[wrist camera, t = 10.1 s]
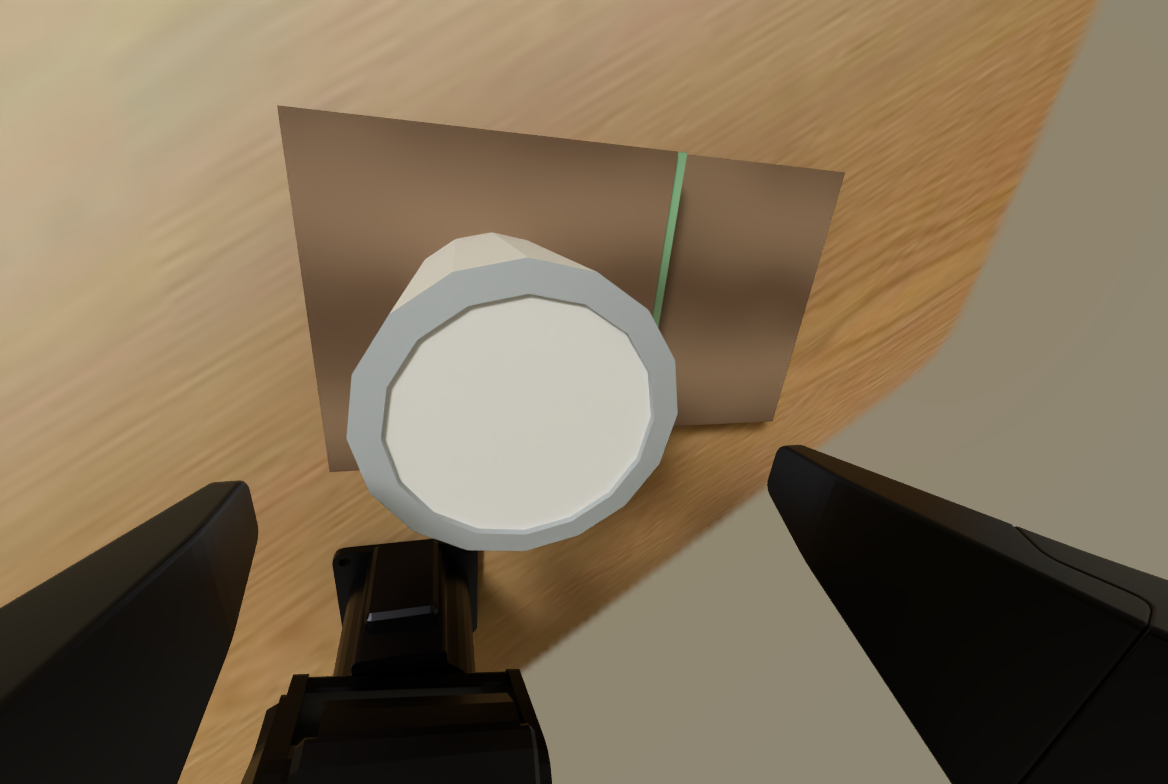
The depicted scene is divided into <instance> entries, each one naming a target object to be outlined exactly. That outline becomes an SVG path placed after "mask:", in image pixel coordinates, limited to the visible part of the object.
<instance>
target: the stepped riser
mask: <svg viewBox="0 0 1168 784" xmlns="http://www.w3.org/2000/svg"><path fill="white" fill-rule="evenodd" d="M277 107H278V114H279V121H280V128H281V135H282V142H283V149H284V156H285V163H286V170H287V177H288V184H289V191H290V198H291V205H292V212H293V219H294V226H295V233H296V240H297V247H298V254H299V261H300V268H301V275H302V281H303V288H304V295H305V302H306V309H307V316H308V323H309V330H310V337H311V344H312V351H313V358H314V365H315V372H316V379H317V386H318V393H319V400H320V407H321V414H322V421H323V428H324V435H325V442H326V449H327V456H328V463H329V470H330V472H340V471H356V470H360V469H359V467H358V464H357V462H356V460H355V457H354V455H353V453H352V450H351V448H350V446H349V443H348V441H347V439H346V438H347V426H348V413H349V401H350V389H351V377H352V373H353V372H354V370H355V369H356V367H357V365H358V364H359V362H360V360H361V359H362V357H363V356H364V354H365V352H366V351H367V349H368V348H369V346H370V344H371V343H372V341H373V339H374V338H375V336H376V335H377V333H378V331H379V330H380V328H381V326H382V325H383V323H384V322H385V320H386V318H387V317H388V315H389V314H390V312H391V311H392V309H393V307H394V306H395V304H396V303H397V301H398V300H399V298H400V297H401V295H402V294H403V292H404V291H405V289H406V288H407V286H408V285H409V283H410V282H411V280H412V279H413V277H414V275H415V274H416V272H417V271H418V269H419V268H420V266H421V265H422V263H423V262H424V260H425V259H426V258H428V257H429V256H431V255H432V254H434V253H435V252H437V251H438V250H440V249H441V248H443V247H444V246H446V245H447V244H449V243H450V242H452V241H453V240H455V239H458V238H463V237H469V236H474V235H480V234H485V233H491V232H493V233H497V234H502V235H506V236H510V237H515V238H519V239H524V240H528V241H530V242H532V243H534V244H536V245H539V246H541V247H543V248H545V249H548V250H550V251H552V252H554V253H556V254H559V255H561V256H563V257H565V258H567V259H570V260H572V261H574V262H576V263H578V264H581V265H583V266H585V267H587V268H589V269H592V270H594V271H596V272H598V273H599V274H601V275H602V276H603V277H605V278H606V279H607V280H609V281H610V282H612V283H613V284H614V285H616V286H617V287H618V288H620V289H621V290H622V291H624V292H625V293H626V294H628V295H629V296H630V297H632V298H633V299H634V300H636V301H637V302H638V303H640V304H641V305H643V306H644V307H645V308H647V309H648V310H649V312H650V314H651V315H652V317H653V319H654V321H655V323H656V325H657V327H658V329H659V331H660V333H661V334H662V336H663V338H664V340H665V342H666V344H667V346H668V348H669V350H670V352H671V353H672V355H673V357H674V359H675V368H676V390H677V411H678V414H677V417H676V420H675V422H674V425H673V426H684V425H705V424H726V423H747V422H768V421H773V417H774V414H775V411H776V407H777V404H778V400H779V397H780V393H781V390H782V387H783V383H784V380H785V376H786V373H787V370H788V366H789V363H790V359H791V356H792V352H793V349H794V346H795V342H796V339H797V335H798V332H799V328H800V325H801V322H802V318H803V315H804V311H805V308H806V304H807V301H808V298H809V294H810V291H811V287H812V284H813V281H814V277H815V274H816V270H817V267H818V263H819V260H820V257H821V253H822V250H823V246H824V243H825V239H826V236H827V233H828V229H829V226H830V222H831V219H832V215H833V212H834V209H835V205H836V202H837V198H838V195H839V192H840V188H841V185H842V181H843V178H844V174H845V173H844V172H835V171H826V170H818V169H809V168H800V167H792V166H783V165H774V164H765V163H757V162H748V161H739V160H730V159H722V158H713V157H704V156H696V155H687V153H682V152H675V151H667V150H658V149H649V148H641V147H632V146H623V145H615V144H606V143H597V142H589V141H580V140H571V139H563V138H554V137H545V136H537V135H528V134H519V133H511V132H502V131H493V130H485V129H476V128H467V127H459V126H450V125H442V124H433V123H424V122H416V121H407V120H398V119H390V118H381V117H372V116H364V115H355V114H346V113H338V112H329V111H320V110H312V109H303V108H294V107H286V106H277Z"/></svg>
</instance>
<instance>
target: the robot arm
mask: <svg viewBox="0 0 1168 784" xmlns="http://www.w3.org/2000/svg"><path fill="white" fill-rule="evenodd" d="M767 486H768V491H769V494H770V496H771V498H772V500H773V502H774V503H775V506H776V508H777V509H778V511H779V513H780V515H781V517H782V519H783V521H784V522H785V525H786V526H787V528H788V530H789V532H790V534H791V536H792V537H793V540H794V541H795V543H796V545H797V547H798V549H799V551H800V552H801V554H802V556H803V558H804V559H805V561H806V563H807V564H808V566H809V567H810V569H811V571H812V572H813V574H814V575H815V577H816V578H817V580H818V582H819V583H820V585H821V586H822V588H823V589H824V591H825V592H826V594H827V595H828V597H829V598H830V599H831V601H832V603H833V604H834V606H835V607H836V609H837V610H838V612H839V613H840V615H841V616H842V618H843V619H844V621H845V623H846V624H847V625H848V627H849V629H850V630H851V632H852V633H853V635H854V636H855V638H856V639H857V641H858V642H859V644H860V645H861V647H862V648H863V650H864V651H865V653H866V654H867V656H868V657H869V659H870V661H871V662H872V664H873V665H874V666H875V668H876V670H877V671H878V673H879V674H880V676H881V677H882V679H883V680H884V682H885V683H886V685H887V686H888V688H889V689H890V691H891V692H892V694H893V696H894V697H895V699H896V700H897V701H898V703H899V704H900V706H901V708H902V709H903V711H904V712H905V714H906V715H907V717H908V718H909V720H910V721H911V723H912V724H913V726H914V727H915V729H916V730H917V732H918V733H919V735H920V736H921V738H922V740H923V741H924V743H925V744H926V746H927V747H928V748H929V750H930V752H931V753H932V755H933V756H934V758H935V759H936V761H937V762H938V764H939V765H940V767H941V768H942V770H943V771H944V773H945V774H946V776H947V777H948V779H949V781H950V782H951V784H1168V580H1166V579H1163V578H1159V577H1157V576H1154V575H1151V574H1148V573H1145V572H1142V571H1139V570H1136V569H1133V568H1131V567H1128V566H1125V565H1122V564H1119V563H1116V562H1113V561H1111V560H1108V559H1104V558H1102V557H1099V556H1096V555H1093V554H1091V553H1087V552H1085V551H1082V550H1079V549H1077V548H1074V547H1071V546H1069V545H1066V544H1063V543H1060V542H1058V541H1055V540H1052V539H1050V538H1047V537H1044V536H1041V535H1039V534H1036V533H1034V532H1031V531H1028V530H1026V529H1023V528H1020V527H1013V526H1012V525H1011V524H1009V523H1007V522H1004V521H1002V520H999V519H996V518H993V517H991V516H988V515H986V514H983V513H980V512H978V511H975V510H972V509H969V508H967V507H964V506H962V505H959V504H956V503H954V502H951V501H948V500H946V499H943V498H940V497H938V496H935V495H933V494H930V493H927V492H925V491H922V490H919V489H917V488H914V487H911V486H909V485H906V484H904V483H901V482H898V481H896V480H893V479H890V478H888V477H885V476H882V475H879V474H877V473H874V472H872V471H869V470H866V469H864V468H861V467H858V466H856V465H853V464H851V463H848V462H845V461H842V460H840V459H837V458H835V457H832V456H829V455H826V454H824V453H821V452H819V451H816V450H814V449H811V448H808V447H806V446H803V445H788V446H782V447H780V448H779V449H778V451H777V452H776V455H775V458H774V462H773V465H772V468H771V472H770V475H769V478H768V484H767ZM257 540H258V524H257V520H256V515H255V511H254V507H253V502H252V498H251V494H250V490H249V487H248V485H247V484H246V483H245V482H243V481H225V482H213V483H210V484H208V485H206V486H205V487H203V488H201V489H200V490H198V491H196V492H195V493H193V494H191V495H190V496H188V497H186V498H185V499H183V500H181V501H180V502H178V503H176V504H175V505H173V506H171V507H169V508H168V509H166V510H164V511H163V512H161V513H159V514H158V515H156V516H154V517H153V518H151V519H149V520H148V521H146V522H144V523H143V524H141V525H139V526H138V527H136V528H134V529H132V530H131V531H129V532H127V533H126V534H124V535H122V536H121V537H119V538H117V539H116V540H114V541H112V542H111V543H109V544H107V545H106V546H104V547H102V548H100V549H99V550H97V551H95V552H94V553H92V554H90V555H89V556H87V557H85V558H84V559H82V560H80V561H79V562H77V563H75V564H74V565H72V566H70V567H68V568H67V569H65V570H63V571H62V572H60V573H58V574H57V575H55V576H53V577H52V578H50V579H48V580H47V581H45V582H43V583H42V584H40V585H38V586H36V587H35V588H33V589H31V590H30V591H28V592H26V593H25V594H23V595H21V596H20V597H18V598H16V599H15V600H13V601H11V602H10V603H8V604H6V605H5V606H3V607H1V608H0V784H177V783H178V780H179V778H180V775H181V772H182V770H183V767H184V765H185V762H186V759H187V757H188V754H189V752H190V749H191V746H192V744H193V741H194V739H195V736H196V733H197V731H198V728H199V726H200V723H201V720H202V718H203V715H204V713H205V710H206V707H207V705H208V702H209V700H210V697H211V694H212V692H213V689H214V687H215V684H216V681H217V679H218V676H219V674H220V671H221V668H222V666H223V663H224V661H225V658H226V655H227V653H228V650H229V647H230V644H231V641H232V638H233V635H234V631H235V627H236V624H237V620H238V616H239V612H240V608H241V604H242V600H243V596H244V592H245V588H246V584H247V580H248V576H249V572H250V568H251V564H252V560H253V557H254V553H255V549H256V545H257ZM342 558H347V559H349V560H342ZM477 563H478V550H465V549H462V548H459V547H457V546H454V545H451V544H448V543H445V542H442V541H440V540H437V539H428V540H418V541H408V542H398V543H388V544H378V545H368V546H358V547H348V548H342V549H339V550H338V551H336V553H335V554H334V558H333V563H332V564H333V571H334V577H335V584H336V590H337V596H338V603H339V609H340V616H341V622H342V632H341V637H340V643H339V648H338V653H337V658H336V663H335V668H334V674H333V676H324V677H309V674H295V675H293V677H292V680H291V683H290V686H289V690H288V693H287V695H281V697H280V700H279V703H278V704H276V705H275V706H273V707H271V708H269V709H268V710H267V711H266V714H265V718H264V721H263V724H262V728H261V731H260V735H259V738H258V741H257V744H256V748H255V751H254V753H253V756H252V759H251V762H250V764H249V766H248V769H247V771H246V773H245V775H244V778H243V780H242V782H241V784H552V778H551V767H550V761H549V754H548V749H547V746H546V742H545V739H544V736H543V733H542V730H541V728H540V725H539V722H538V719H537V717H536V714H535V711H534V709H533V706H532V703H531V700H530V697H529V695H528V692H527V689H526V686H525V683H524V681H523V678H522V675H521V672H520V670H519V669H506V671H505V672H475V661H474V647H473V632H474V631H475V630H476V628H477Z"/></svg>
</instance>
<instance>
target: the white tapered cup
mask: <svg viewBox="0 0 1168 784" xmlns="http://www.w3.org/2000/svg"><path fill="white" fill-rule="evenodd" d="M677 414H678V411H677V390H676V368H675V359H674V357H673V355H672V353H671V352H670V350H669V348H668V346H667V344H666V342H665V340H664V338H663V336H662V334H661V333H660V331H659V329H658V327H657V325H656V323H655V321H654V319H653V317H652V315H651V314H650V312H649V310H648V309H647V308H645V307H644V306H643V305H641V304H640V303H638V302H637V301H636V300H634V299H633V298H632V297H630V296H629V295H628V294H626V293H625V292H624V291H622V290H621V289H620V288H618V287H617V286H616V285H614V284H613V283H612V282H610V281H609V280H607V279H606V278H605V277H603V276H602V275H601V274H599V273H598V272H596V271H594V270H592V269H589V268H587V267H585V266H583V265H581V264H578V263H576V262H574V261H572V260H570V259H567V258H565V257H563V256H561V255H559V254H556V253H554V252H552V251H550V250H548V249H545V248H543V247H541V246H539V245H536V244H534V243H532V242H530V241H528V240H524V239H519V238H515V237H510V236H506V235H502V234H497V233H493V232H491V233H485V234H480V235H474V236H469V237H463V238H458V239H455V240H453V241H452V242H450V243H449V244H447V245H446V246H444V247H443V248H441V249H440V250H438V251H437V252H435V253H434V254H432V255H431V256H429V257H428V258H426V259H425V260H424V262H423V263H422V265H421V266H420V268H419V269H418V271H417V272H416V274H415V275H414V277H413V279H412V280H411V282H410V283H409V285H408V286H407V288H406V289H405V291H404V292H403V294H402V295H401V297H400V298H399V300H398V301H397V303H396V304H395V306H394V307H393V309H392V311H391V312H390V314H389V315H388V317H387V318H386V320H385V322H384V323H383V325H382V326H381V328H380V330H379V331H378V333H377V335H376V336H375V338H374V339H373V341H372V343H371V344H370V346H369V348H368V349H367V351H366V352H365V354H364V356H363V357H362V359H361V360H360V362H359V364H358V365H357V367H356V369H355V370H354V372H353V373H352V377H351V389H350V401H349V413H348V426H347V438H346V439H347V441H348V443H349V446H350V448H351V450H352V453H353V455H354V457H355V460H356V462H357V464H358V467H359V469H360V471H361V474H362V476H363V478H364V481H365V483H366V485H367V488H368V490H369V492H370V494H371V495H372V496H374V497H375V498H376V499H377V500H378V501H379V502H380V503H382V504H383V505H384V506H385V507H386V508H387V509H388V510H390V511H391V512H392V513H393V514H394V515H395V516H396V517H398V518H399V519H400V520H401V521H402V522H403V523H404V524H406V525H407V526H408V527H409V528H410V529H411V530H412V531H414V532H417V533H420V534H423V535H425V536H428V537H431V538H434V539H437V540H440V541H442V542H445V543H448V544H451V545H454V546H457V547H459V548H462V549H465V550H485V551H526V550H530V549H533V548H536V547H540V546H543V545H547V544H550V543H554V542H557V541H561V540H564V539H567V538H571V537H574V536H578V535H580V534H581V533H583V532H584V531H586V530H588V529H589V528H591V527H592V526H594V525H595V524H597V523H598V522H600V521H601V520H603V519H605V518H606V517H608V516H609V515H611V514H612V513H614V512H615V511H617V510H619V509H620V508H622V507H623V506H625V505H626V504H627V502H628V501H629V500H630V499H631V498H632V496H633V495H634V494H635V493H636V491H637V490H638V489H639V488H640V487H641V485H642V484H643V483H644V482H645V481H646V479H647V478H648V477H649V476H650V475H651V473H652V472H653V471H654V470H655V469H656V467H657V466H658V465H659V464H660V461H661V458H662V455H663V453H664V450H665V447H666V444H667V442H668V439H669V436H670V433H671V431H672V428H673V425H674V422H675V420H676V417H677Z"/></svg>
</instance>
